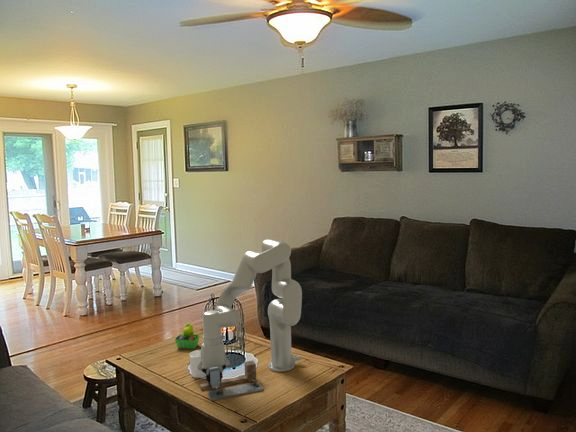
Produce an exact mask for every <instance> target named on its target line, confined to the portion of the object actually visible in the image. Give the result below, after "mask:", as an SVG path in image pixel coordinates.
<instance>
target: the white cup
mask: <svg viewBox="0 0 576 432" xmlns="http://www.w3.org/2000/svg"><path fill="white" fill-rule="evenodd" d="M188 356H189V364H190V372H191V376H192V377H193V378H198V379H200V378H203V377H206V376H205V375H206V374H205V373H204V372H202V371H200V370H198V369H197V367H198V365H199V363H200V361H201V349H196V350H193V351H191V352H189V355H188ZM202 368H203V365H202Z"/></svg>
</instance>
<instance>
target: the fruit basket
mask: <svg viewBox="0 0 576 432" xmlns="http://www.w3.org/2000/svg"><path fill="white" fill-rule="evenodd" d="M194 332H195V331H194V325H192V323H189V322H188V323H186V325H185V326H184V328H183V330H182V333H183V334H179V335H177V336H176V337H175V338H174V340H175V343H176V346H177V348H178V349H191V350H192V349H193V350H194V349H196V347H197V346H198V345H199V340H200V336H201V334H194Z"/></svg>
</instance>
